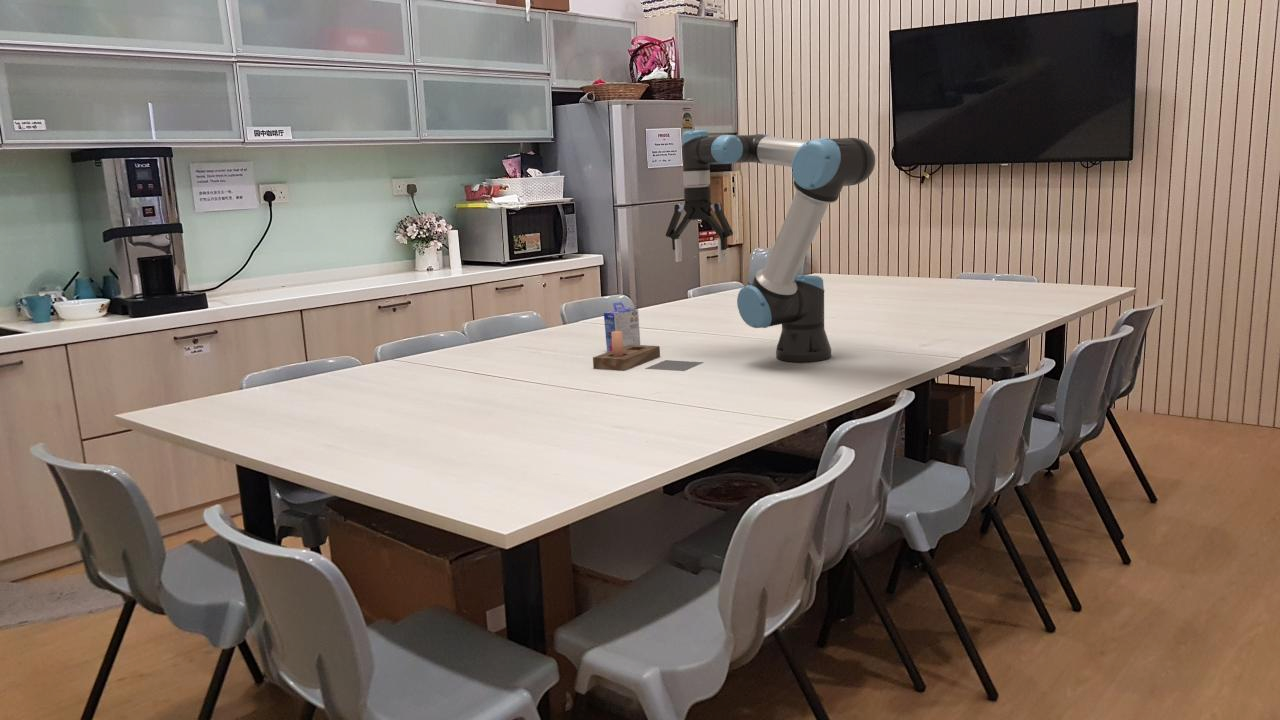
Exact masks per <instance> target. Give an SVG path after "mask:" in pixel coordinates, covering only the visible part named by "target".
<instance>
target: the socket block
mask: <svg viewBox="0 0 1280 720" xmlns="http://www.w3.org/2000/svg"><path fill="white" fill-rule="evenodd" d="M660 348H661V347H660V345H645V344H643V345H642V344H640V345H627V346H624V347H623V356H622V357H613V353H612V351H610V352H607V351H606V352H605V353H601V354H599V355H596V356H593V357H592V366H593V369H594V370H607V371H608V370H609V371H623V372H624V371H628V370H630V369H634V368H635V367H638V366H641V365H644V364H646V363H648V362H651V361H653V360H655V359H658V358H660V357H661V351H660V350H661V349H660Z"/></svg>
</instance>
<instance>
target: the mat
mask: <svg viewBox="0 0 1280 720" xmlns="http://www.w3.org/2000/svg"><path fill="white" fill-rule="evenodd" d="M701 364H704V362H703V361H688V360H687V361H686V360H685V361H684V360H671V359H669V360H667V359H664V360H663V361H660V362H657V363H655V364H652V365H649V366H648V367H645V368H644V369H645V370H660V371H662V370H663V371H676V372H686V371H688V370H690V369H692V368H695V367H697V366H700V365H701Z"/></svg>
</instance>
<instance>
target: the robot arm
mask: <svg viewBox="0 0 1280 720" xmlns="http://www.w3.org/2000/svg"><path fill="white" fill-rule="evenodd" d="M681 150H682V171H683V172H682V173H683V175H682V176H683V186H684V189H683V194H684V195H683V199H684V204H681V203H678V204H675V205H674V211H673V215H672V217H671V220H670V222H669V225H668V227H667V230H666V231H665V236H666V237H668V238H670V239H671V241H672V245H671V246H672V250H673V251H674V253H675V255H674V256H675V262H676V263H680V262H683V249H682V247H683V246H682V238H680V236H681V235H682V233H683V232H684V230H685V229H686V227H687V226H688V225H689V223H691V221H695V220H700V221H701V220H705V221H706V222H707V223H708V224H709V225H710V226H711V228H712V229H713V231H714V232H715V233H716V234H717V236H718V237H719V238H717V258H718V259H717V260H718V261H717V262H718V263H724V262H725V261H726V256H725V255H726V253H725V252H726V250H727V248H728V238H729V237H731V236H733V235H734V232H733V230H732V228H731V226H730V223H729V221H728V219H727V217H726V216H725V213H724V211H723V206H722V203H721V202H716V203H712V202H711V199H712V195H711V194H712V193H711V192H712V191H711V187H710V186H709V185H710V184H711V169H710V165H731V164H742V163H755V164H756V163H757V164H767V165H773V166H781V167H789V168H791V169H792V172H791V175H792V178H793V180H794V181H793V183H792V184H793V187H794V190H795V194H794V195H793V198H792V201H791V203H790V206H789V208H788V210H787V213H786V215H785V218H784V220H783V223H782V225H781V227H780V230H779V232H778V235H777V237H776V240H775V242H774V244H773V247H772V249H771V252H770V255H769V256H768V259H767V261H766V264H765V266H764V268H761V269H759V270H757V271H756V273H755V276H754V278H753V280H752V282H751V284H747V285H745V286H743V287H742V288H741V289H739V292H738V294H737V296H736V297H737V298H736V303H737V304H736V305H737V310H738V313H739V315H740V317H741V319H742V321H743V322H744V323H745V324H746V325H747V326H749V327H751V328H752V329H753V328H754V329H763V328H764V329H766V328H769V327H773V326H778V325H781V332H780V336H779V339H778V342H777V345H776V348H775V349H776V350H775V356H776V357H775V358H776V359H778V360H780V361H784V362H791V363H792V362H793V363H795V362H796V363H800V362H801V363H805V362H806V363H807V362H818V361H824V360H827V359H831V357H832V347H831V344H830V341H829V339H828V335H827V332H826V330H825V329H826V328H825V285H824V279H823V278H822V277H821V276H820V275H809V274H799V272H800V270H801V268H802V266H803V264H804V261H805V259H806V256H807V254H808V252H809V249H810V247H811V245H812V244H813V243H812V242H813V240H814V238H815V236H816V233H817V231H818V229H819V227H820V224H821V221H822V220H823V217H824V215H825V213H826V211H827V209H828V207H829V205H830V204H834V203H836V202H837V201H838V199H839V197H840V195H841V192H842V190H843V187H850V186H857V185H859V184H861V183H864V182H865V181H866V180H867V179H869V178H870V176H871V175H872V173H873V172H874V170H875V167H876V166H875V165H876V154H875V151H874V150H873V148H872V146H871V145H870V144H869V143H868V142H866V141H865V140H863V139H861V138H858V137H857V138H856V137H847V138H846V137H842V138H840V137H839V138H826V137H821V138H817V139H812V140H810V139H809V140H808V139H799V138H788V137H781V136H780V137H779V136H771V135H769V134H768V135H767V134H762V133H757V134H745V135H742V134H738V135H736V134H735V135H730V134H723V135H716V136H709V131H708V130H705V129H703V130H701V129H697V130H695V129H694V130H686V131H684V132H683V133H682V135H681ZM711 211H713V212H714V214H715V216H716V218H717V220H718V221H717V220H716V219H715V217H714V215H713V214H712V213H711ZM682 212H685V215H684V216H683V218H682V220H681V222H680V223H679V221H680V218H681V216H682ZM718 222H719V223H720V224H719V223H718Z"/></svg>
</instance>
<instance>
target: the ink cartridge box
mask: <svg viewBox="0 0 1280 720" xmlns="http://www.w3.org/2000/svg"><path fill="white" fill-rule="evenodd" d="M618 305H619V306H618ZM617 306H618V307H617ZM612 307H613V309H614V310H612V311H607V312H603V319H604V320H603V321H604V329H605V330H604V331H605V344H606V353H607V352H610V351H612V334H611V332H613V331H622V336H623V347H624V346H627V345H641V333H640V318H639V317H640V316H639V309H637V308H630V307H629V308H625V305H624V303H623V302H622V301H619V302H613V303H612Z"/></svg>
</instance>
